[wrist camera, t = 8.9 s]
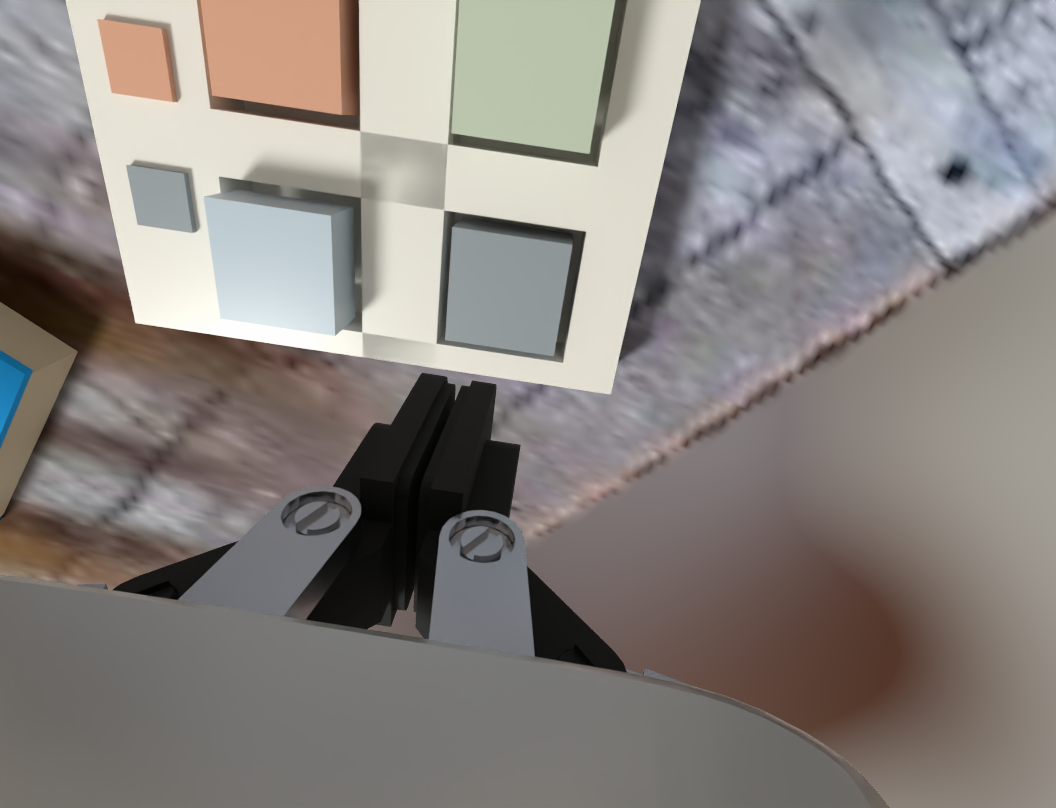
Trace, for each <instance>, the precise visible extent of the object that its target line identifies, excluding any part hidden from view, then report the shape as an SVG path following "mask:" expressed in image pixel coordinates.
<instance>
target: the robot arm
mask: <svg viewBox="0 0 1056 808" xmlns="http://www.w3.org/2000/svg"><path fill="white" fill-rule="evenodd" d="M495 397H496V384H491V383H484V382H478V381H472V382H471V385H470V387H469V386H461V389H460V391H459V393H458V396H457V398H456V400H455V384H450V383H448V381H447V377H445V376H439V375H432V374H426V373H422V374H421V375H420V377H419V378H418V380H417V382H416V383H415V385H414V387H413V388H412V390H411V392H410V394H409V395H408V397H407V399H406V400H405V402H404V404H403V405H402V407H401V409H400V410H399V412H398V414H397V415H396V417H395V419H394V421H393V422H392V424H391V425H389V424H382V423H375V424H374V425H373V426H372V427H371V429H370V430H369V432H368V433H367V435H366V436H365V438H364V439H363V441H362V442H361V444H360V446H359V447H358V449H357V450H356V452H355V453H354V455H353V456H352V458H351V459H350V461H349V462H348V464H347V466H346V467H345V469H344V470H343V472H342V473H341V475H340V476H339V478H338V479H337V481H336V482H335V484H334V486H333V487H331V486H315V487H310V488H305V489H301V490H299V491H296V492H294V493H292V494H289V495H288V496H286V497H285V498H284V499H282V500H281V501H280V502H278V503H277V504H276V505H275V506H274V507H273V508H272V509H271V510H270V511H269V512H268V513H267V514H266V515H265V516H264V517H263V518H262V519H261V520H260V521H259V522H258V523H257V524H256V525H255V526H254V527H253V528H252V529H251V530H249V531H248V532H247V533H246V534H245V535H244V536H243V537H242V538H241V539H240V540H239V541H237V542H234V543H231V544H228V545H225V546H222V547H220V548H217V549H214V550H211V551H208V552H205V553H203V554H200V555H197V556H194V557H191V558H188V559H186V560H183V561H180V562H177V563H174V564H171V565H169V566H166V567H163V568H160V569H157V570H154V571H152V572H149V573H146V574H143V575H140V576H138V577H135V578H133V579H131V580H129V581H126V582H124V583H122V584H120V585H119V586H117V587H116V588H114V589H113V590H108V587H107V584H84V585H73V584H66V583H59V582H52V581H45V580H38V579H31V578H24V577H15V576H6V575H0V808H889V806H888V805H887V804H886V802H885V801H884V800H883V798H882V797H881V796H880V794H879V793H878V792H877V791H876V790H875V788H874V787H873V786H872V785H871V784H870V783H869V782H868V780H867V779H866V778H865V777H864V776H863V775H862V774H861V773H860V772H859V771H857V770H856V769H855V768H854V767H853V766H851V764H850V763H848V762H847V761H846V760H845V759H844V758H842V757H841V756H839V755H838V754H837V753H835V752H834V751H833V750H831V749H830V748H828V747H827V746H826V745H824V744H822V743H821V742H820V741H818V740H816V739H815V738H813V737H812V736H810V735H808V734H807V733H805V732H803V731H802V730H799V729H798V728H796V727H794V726H792V725H790V724H788V723H786V722H784V721H782V720H780V719H778V718H777V717H775V716H773V715H771V714H769V713H767V712H765V711H762V710H760V709H757V708H755V707H752V706H750V705H747V704H745V703H742V702H740V701H737V700H734V699H732V698H729V697H727V696H724V695H720V694H717V693H713V692H710V691H706V690H703V689H699V688H696V687H693V686H691V685H688V684H685V683H683V682H680V681H677V680H675V679H672V678H669V677H667V676H664V675H661V674H658V673H656V672H653V671H650V670H648V669H644V672H643V674H642V675H641V674H638V673H635V672H633V671H630V670H627V669H625V666H624V664H623V662H622V661H621V660H620V658H619V657H618V656H617V655H616V653H615V652H614V651H613V650H612V649H611V648H610V647H609V646H608V645H607V644H606V643H605V642H604V641H603V640H602V639H601V638H600V637H599V636H598V635H597V634H596V633H595V632H594V631H593V630H592V629H591V628H590V627H589V626H588V625H587V624H586V623H585V622H584V621H583V620H582V619H581V618H579V617H578V616H577V615H576V614H575V613H574V612H573V611H572V610H571V609H570V608H569V607H568V606H567V605H566V604H565V603H564V602H563V601H562V600H561V599H560V598H559V597H558V596H557V595H556V594H555V593H554V592H553V591H552V590H551V589H550V588H549V587H548V586H547V585H546V584H545V583H544V582H543V581H542V580H541V579H540V578H539V577H538V576H537V575H536V574H535V573H534V572H533V571H531V570H530V569H529V568H528V567H527V564H526V552H525V541H524V537H523V534H522V531H521V530H520V528H519V527H518V526H517V525H516V523H515V522H513V521H512V520H510V519H509V516H510V510H511V504H512V498H513V491H514V485H515V478H516V472H517V465H518V458H519V451H520V445H518V444H512V443H505V442H499V441H492V440H491V431H492V423H493V414H494V405H495ZM454 402H455V403H454ZM414 587H415V589H414ZM413 590H414V612H416V628H417V630H418V631H419V632H420V634H421V635H422V637H423V638H417V637H412V636H405V635H398V634H392V633H386V632H379V631H373V630H367V629H368V628H370V627H372V626H374V625H376V624H377V625H383V626H390V627H391V625H392V622H393V619H394V616H395V614H396V611H397V609H398V610H406V609H407V608H408V605H409V602H410V599H411V596H412V593H413Z"/></svg>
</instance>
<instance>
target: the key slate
mask: <svg viewBox="0 0 1056 808" xmlns="http://www.w3.org/2000/svg"><path fill="white" fill-rule="evenodd" d="M572 246H573V240H572V234H570V233H563V232H556V231H550V230H543V229H536V228H530V227H523V226H517V225H510V224H503V223H497V222H490V221H483V220H477V219H470V218H462V219H461V220H460V221H458V222H457V223H456V224H455V225H454V226H453V227H452V240H451V256H450V271H449V286H448V302H447V317H446V332H445V340H448V341H455V342H462V343H468V344H475V345H482V346H488V347H495V348H501V349H508V350H515V351H521V352H528V353H535V354H541V355H548V356H554V353H555V347H556V341H557V335H558V329H559V323H560V317H561V311H562V305H563V299H564V293H565V287H566V281H567V275H568V269H569V263H570V257H571V252H572Z"/></svg>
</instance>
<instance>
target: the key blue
mask: <svg viewBox="0 0 1056 808" xmlns="http://www.w3.org/2000/svg"><path fill="white" fill-rule="evenodd" d="M204 203H205V211H206V218H207V225H208V232H209V239H210V247H211V254H212V261H213V268H214V275H215V283H216V290H217V297H218V304H219V311H220V319H226V320H232V321H239V322H246V323H252V324H259V325H265V326H272V327H279V328H285V329H292V330H299V331H305V332H312V333H319V334H325V335H332V336H336V335H337V334H338V333H339V332H340V331H341V330H342V329H343V328H345V327H346V326H347V325H348V324H349V323H350V322H351V321H352V320H353V319H354V318H356V317H355V258H354V207H351V206H344V205H338V204H331V203H324V202H318V201H311V200H305V199H298V198H291V197H285V196H278V195H271V194H265V193H258V192H251V191H245V190H234V191H229V192H224V193H219V194H214V195H209V196H204Z"/></svg>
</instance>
